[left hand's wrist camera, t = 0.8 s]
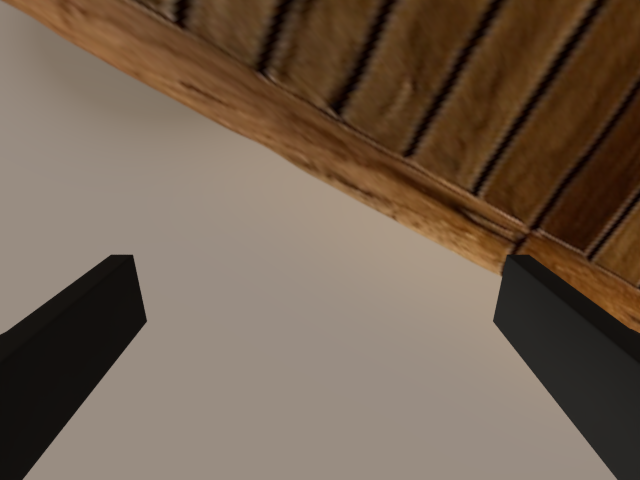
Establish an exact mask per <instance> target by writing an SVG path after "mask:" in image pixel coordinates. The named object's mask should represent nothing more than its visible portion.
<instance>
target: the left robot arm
mask: <svg viewBox="0 0 640 480" xmlns="http://www.w3.org/2000/svg"><path fill="white" fill-rule="evenodd" d="M146 322H147V319H146V314H145V310H144V305H143V300H142V295H141V291H140V286H139V281H138V276H137V272H136V267H135V262H134V258H133V255H110V256H109V257H107V258H106V259H105V260H103V261H102V262H101V263H99V264H98V265H96V266H95V267H94V268H92V269H91V270H90V271H88V272H87V273H86V274H84V275H83V276H82V277H80V278H79V279H77V280H76V281H75V282H73V283H72V284H71V285H69V286H68V287H67V288H65V289H64V290H62V291H61V292H60V293H58V294H57V295H56V296H54V297H53V298H52V299H50V300H49V301H47V302H46V303H45V304H43V305H42V306H41V307H39V308H38V309H37V310H35V311H34V312H33V313H31V314H30V315H29V316H27V317H26V318H24V319H23V320H22V321H20V322H19V323H18V324H16V325H15V326H14V327H12V328H11V329H9V330H8V331H7V332H5V333H3V334H1V335H0V480H23V478H24V477H25V476H26V475H27V473H28V472H29V471H30V469H31V468H32V467H33V466H34V464H35V463H36V462H37V461H38V459H39V458H40V457H41V455H42V454H43V453H44V452H45V450H46V449H47V448H48V447H49V445H50V444H51V443H52V441H53V440H54V439H55V438H56V436H57V435H58V434H59V433H60V431H61V430H62V429H63V427H64V426H65V425H66V424H67V422H68V421H69V420H70V419H71V417H72V416H73V415H74V413H75V412H76V411H77V410H78V408H79V407H80V406H81V405H82V403H83V402H84V401H85V400H86V398H87V397H88V396H89V394H90V393H91V392H92V391H93V389H94V388H95V387H96V385H97V384H98V383H99V382H100V380H101V379H102V378H103V377H104V375H105V374H106V373H107V371H108V370H109V369H110V368H111V366H112V365H113V364H114V363H115V361H116V360H117V359H118V358H119V356H120V355H121V354H122V352H123V351H124V350H125V349H126V347H127V346H128V345H129V344H130V342H131V341H132V340H133V338H134V337H135V336H136V335H137V333H138V332H139V331H140V330H141V328H142V327H143V326H144V324H145V323H146ZM493 322H494V323H495V324H496V326H497V327H498V328H499V330H500V331H501V332H502V333H503V335H504V336H505V337H506V338H507V340H508V341H509V342H510V344H511V345H512V346H513V347H514V349H515V350H516V351H517V352H518V354H519V355H520V356H521V357H522V359H523V360H524V361H525V362H526V364H527V365H528V366H529V368H530V369H531V370H532V372H533V373H534V374H535V375H536V377H537V378H538V379H539V380H540V382H541V383H542V384H543V386H544V387H545V388H546V389H547V391H548V392H549V393H550V394H551V396H552V397H553V398H554V399H555V401H556V402H557V403H558V405H559V406H560V407H561V408H562V410H563V411H564V412H565V414H566V415H567V416H568V417H569V419H570V420H571V421H572V422H573V424H574V425H575V426H576V427H577V429H578V430H579V431H580V433H581V434H582V435H583V436H584V438H585V439H586V440H587V441H588V443H589V444H590V445H591V447H592V448H593V449H594V450H595V452H596V453H597V454H598V455H599V457H600V458H601V459H602V461H603V462H604V463H605V464H606V466H607V467H608V468H609V469H610V471H611V472H612V473H613V475H614V476H615V477H616V478H617V480H640V333H638V332H636V331H634V330H632V329H629V328H628V327H627V326H625V325H624V324H622V323H621V322H620V321H618V320H617V319H616V318H614V317H613V316H612V315H610V314H609V313H607V312H606V311H605V310H603V309H602V308H601V307H599V306H598V305H597V304H595V303H594V302H593V301H591V300H590V299H588V298H587V297H586V296H584V295H583V294H582V293H580V292H579V291H578V290H576V289H575V288H573V287H572V286H571V285H569V284H568V283H567V282H565V281H564V280H563V279H561V278H560V277H559V276H557V275H556V274H554V273H553V272H552V271H550V270H549V269H548V268H546V267H545V266H544V265H542V264H541V263H539V262H538V261H537V260H535V259H534V258H533V257H531V256H530V255H507V258H506V262H505V267H504V272H503V276H502V281H501V286H500V291H499V295H498V300H497V305H496V310H495V314H494V319H493Z"/></svg>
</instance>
